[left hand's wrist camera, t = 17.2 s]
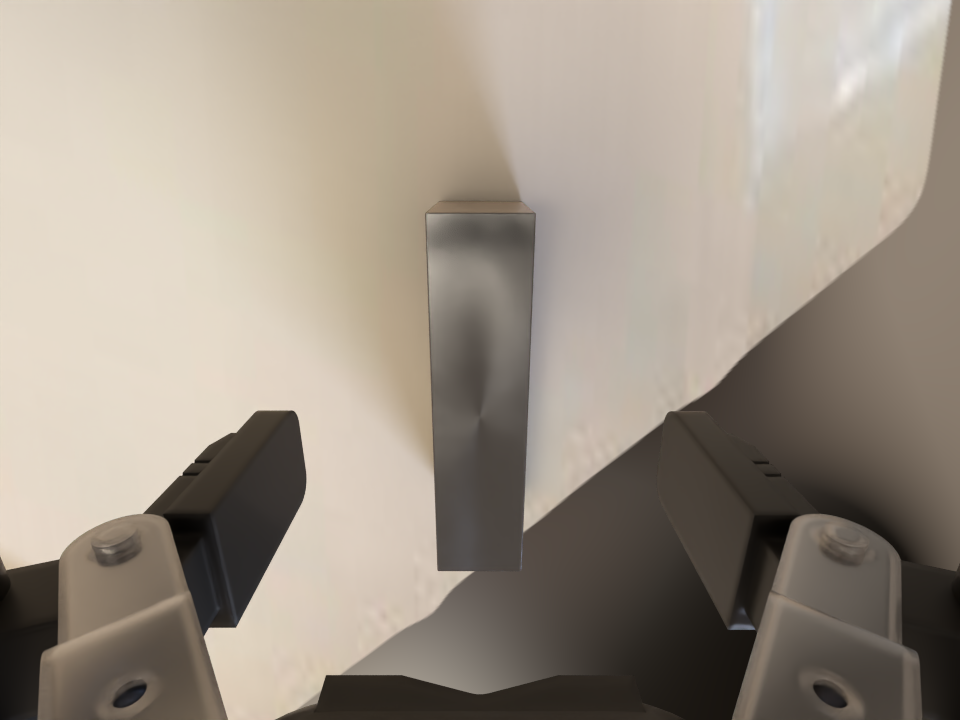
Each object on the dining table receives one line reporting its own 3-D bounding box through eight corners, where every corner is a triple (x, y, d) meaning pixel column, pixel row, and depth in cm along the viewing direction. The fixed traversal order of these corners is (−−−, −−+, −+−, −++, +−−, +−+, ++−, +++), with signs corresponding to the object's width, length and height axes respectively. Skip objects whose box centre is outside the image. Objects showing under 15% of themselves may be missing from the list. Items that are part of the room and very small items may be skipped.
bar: (438, 201, 35) (425, 212, 26) (522, 201, 35) (535, 213, 26) (446, 490, 43) (437, 571, 34) (513, 490, 43) (521, 571, 34)
